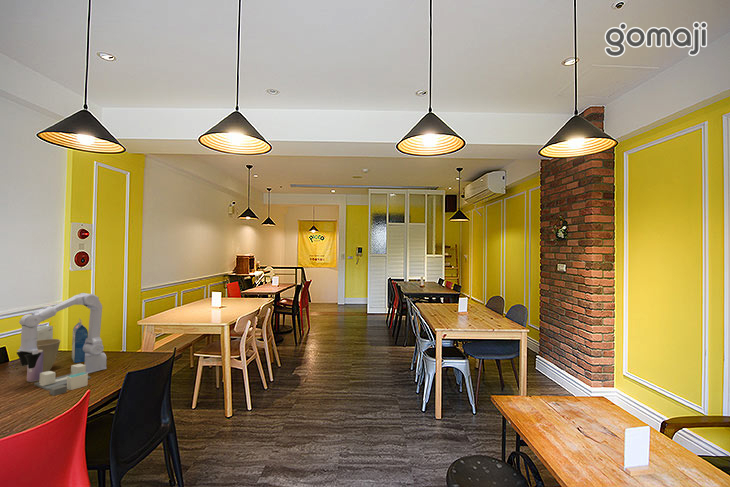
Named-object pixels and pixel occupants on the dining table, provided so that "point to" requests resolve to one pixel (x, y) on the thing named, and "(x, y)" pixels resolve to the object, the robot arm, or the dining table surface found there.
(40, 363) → the beverage can
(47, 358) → the plant pot
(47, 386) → the board
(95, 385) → the dining table surface
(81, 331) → the blue food package
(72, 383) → the block
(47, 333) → the hard drive box
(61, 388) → the block
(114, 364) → the dining table surface
